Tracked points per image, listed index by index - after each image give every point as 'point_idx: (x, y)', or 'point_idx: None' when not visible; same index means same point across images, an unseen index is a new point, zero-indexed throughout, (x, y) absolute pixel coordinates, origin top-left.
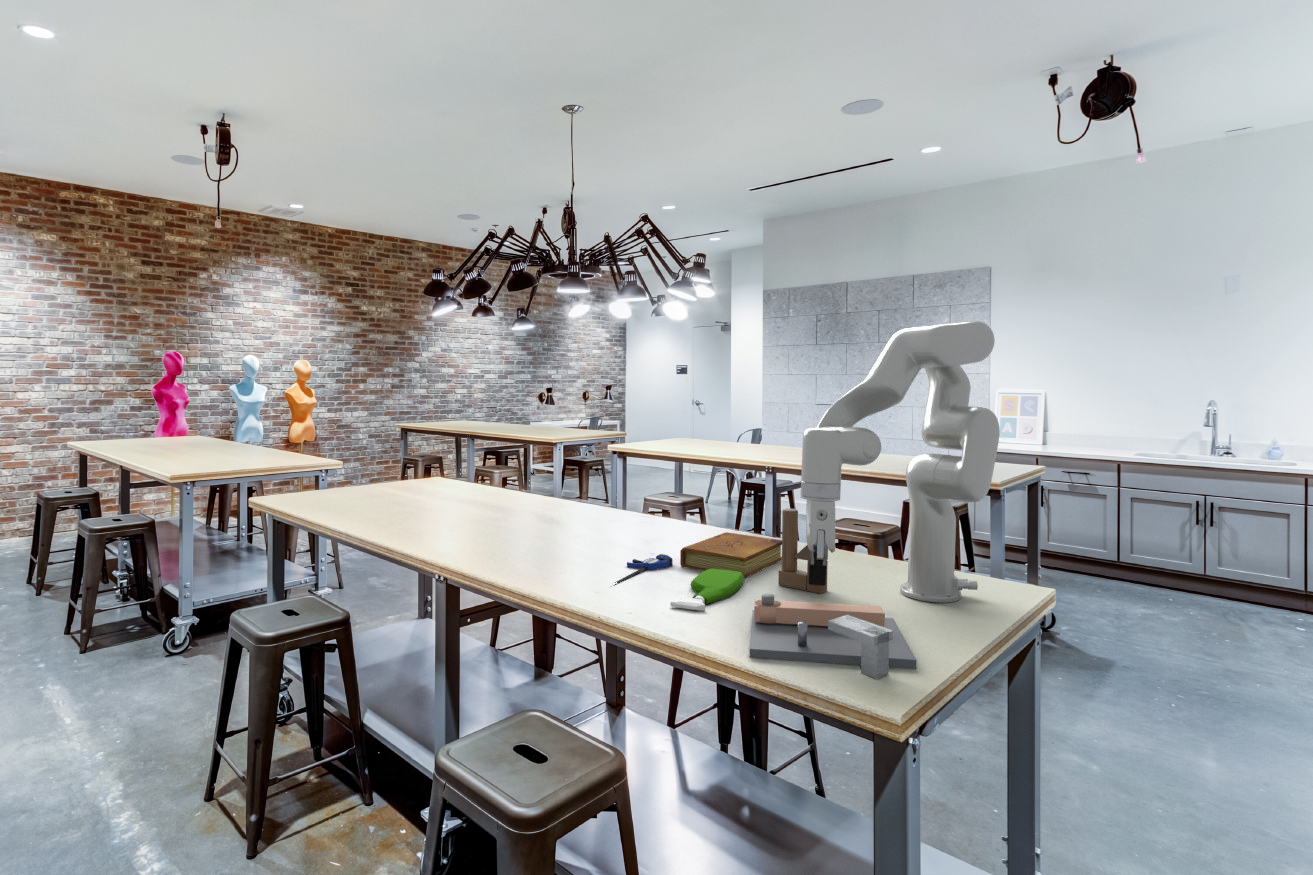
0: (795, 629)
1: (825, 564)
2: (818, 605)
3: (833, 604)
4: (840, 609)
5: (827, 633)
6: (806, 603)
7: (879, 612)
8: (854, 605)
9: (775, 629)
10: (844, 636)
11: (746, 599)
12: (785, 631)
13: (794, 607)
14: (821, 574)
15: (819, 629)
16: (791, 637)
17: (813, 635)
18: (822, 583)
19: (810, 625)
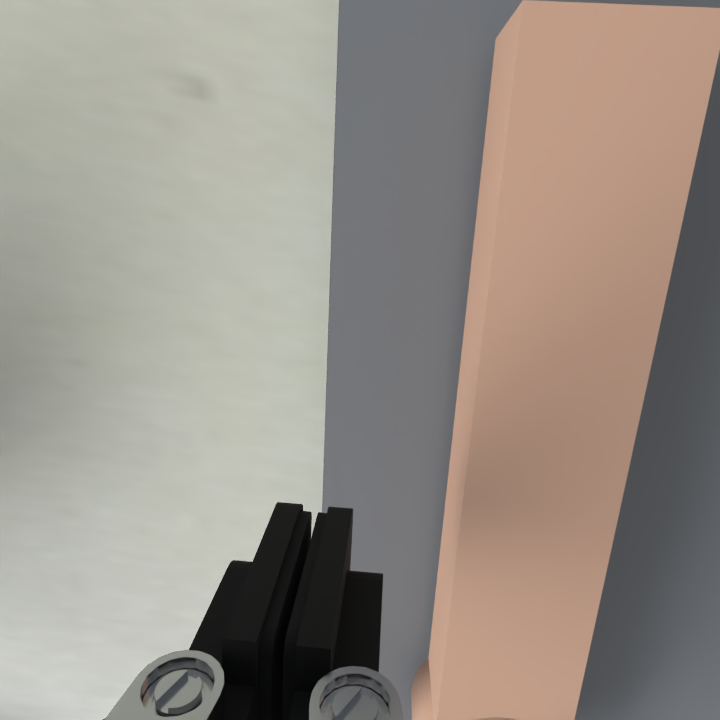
0: None
1: (397, 694)
2: (523, 513)
3: (494, 408)
4: (612, 377)
5: (663, 425)
6: (481, 580)
7: (698, 57)
8: (508, 249)
9: (595, 660)
10: (715, 337)
11: (56, 700)
12: (625, 621)
13: (569, 656)
14: (378, 620)
15: None
16: (712, 605)
17: (688, 500)
18: (351, 536)
19: None
